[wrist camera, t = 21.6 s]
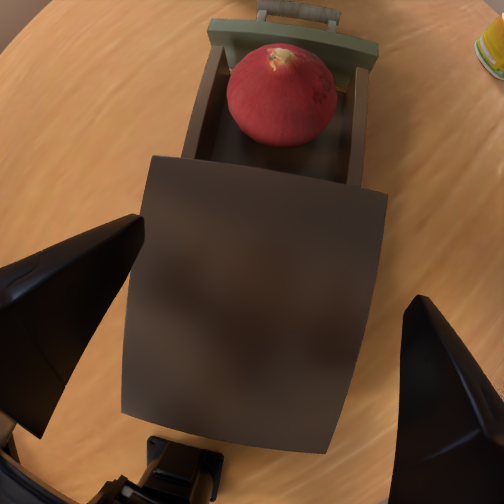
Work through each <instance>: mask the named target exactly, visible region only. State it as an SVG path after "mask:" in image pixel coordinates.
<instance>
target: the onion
mask: <svg viewBox="0 0 504 504" xmlns="http://www.w3.org/2000/svg"><path fill="white" fill-rule="evenodd" d="M227 100H228V107H229V111H230V113H231V115H232V117H233V118H234V120H235V121H236V123H237V124H238V126H239V128H240V129H241V131H242V132H244V133H245V134H246V135H248V136H249V137H251V138H252V139H253V140H255V141H256V142H257V143H260V144H264V145H267V146H270V147H274V148H277V149H279V148H291V147H299V146H301V145H303V144H305V143H307V142H310V141H312V140H314V139H315V138H316V137H317V136H318V135H319V134H320V133H321V132H322V131H323V130H324V129H325V128H326V127H327V126H328V125H329V124H330V123H331V120H332V117H333V114H334V111H335V107H336V104H337V93H336V88H335V83H334V79H333V76H332V73H331V72H330V71H329V70H328V68H327V67H326V66H325V65H324V63H323V62H322V61H321V60H320V58H319V57H318V56H317V55H316V54H314V53H312V52H309V51H307V50H304V49H302V48H300V47H297V46H295V45H290V44H283V43H277V44H269V45H264V46H262V47H260V48H258V49H256V50H254V51H252V52H250V53H249V54H248V55H246V56H245V57H244V58H243V59H242V60H241V61H240V62H239V63H238V64H237V65H236V66H235V67H234V69H233V71H232V74H231V77H230V80H229V83H228V86H227Z"/></svg>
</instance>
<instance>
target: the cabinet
mask: <svg viewBox="0 0 504 504" xmlns="http://www.w3.org/2000/svg"><path fill="white" fill-rule="evenodd" d="M387 200H388V194H385V193H381V192H377V191H373V190H369V189H364V188H360V187H356V186H351V185H347V184H342V183H337V182H333V181H328V180H323V179H318V178H313V177H308V176H302V175H297V174H292V173H286V172H280V171H274V170H268V169H262V168H256V167H249V166H243V165H236V164H229V163H221V162H213V161H205V160H197V159H188V158H179V157H169V156H158V155H153V156H152V159H151V164H150V168H149V172H148V177H147V181H146V186H145V190H144V195H143V200H142V205H141V210H140V216H143V218H144V221H145V241H144V244H143V246H142V248H141V250H140V252H139V254H138V256H137V258H136V260H135V262H134V264H133V266H132V268H131V272H130V280H129V288H128V297H127V306H126V317H125V328H124V342H123V359H122V387H121V412H122V413H124V414H127V415H129V416H132V417H135V418H138V419H141V420H144V421H147V422H151V423H154V424H157V425H160V426H164V427H167V428H171V429H174V430H178V431H182V432H185V433H189V434H193V435H197V436H202V437H206V438H211V439H215V440H220V441H225V442H230V443H235V444H241V445H247V446H253V447H260V448H267V449H274V450H283V451H292V452H303V453H317V454H326V452H327V449H328V447H329V444H330V442H331V439H332V436H333V433H334V431H335V428H336V425H337V422H338V419H339V417H340V414H341V411H342V408H343V405H344V402H345V398H346V395H347V392H348V389H349V386H350V382H351V379H352V376H353V372H354V369H355V365H356V362H357V358H358V354H359V351H360V347H361V343H362V339H363V335H364V331H365V327H366V323H367V318H368V314H369V309H370V305H371V300H372V295H373V290H374V285H375V280H376V275H377V269H378V264H379V258H380V252H381V245H382V239H383V232H384V225H385V217H386V209H387Z"/></svg>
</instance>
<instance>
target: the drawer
mask: <svg viewBox="0 0 504 504" xmlns="http://www.w3.org/2000/svg"><path fill="white" fill-rule="evenodd" d="M256 10H257V14H258V15H257V19H256V21H254V20H239V19H211V20H210V23H209V26H208V29H207V33H208V36H209V39H210V43H211V46H212V47H211V50H210V53H209V56H208V60H207V63H206V66H205V69H204V72H203V76H202V79H201V83H200V86H199V89H198V93H197V96H196V100H195V104H194V107H193V111H192V115H191V119H190V122H189V126H188V130H187V134H186V138H185V142H184V146H183V151H182V155H181V158H188V159H197V160H205V161H213V162H221V163H229V164H236V165H243V166H249V167H256V168H262V169H268V170H274V171H280V172H286V173H292V174H297V175H302V176H308V177H313V178H318V179H323V180H328V181H333V182H337V183H342V184H347V185H351V186H356V187H360V188H361V181H362V172H363V162H364V151H365V139H366V125H367V108H368V81H369V73H370V71H371V70H372V68H373V66H374V64H375V62H376V60H377V59H378V57H379V51H378V44H377V43H374V42H371V41H367V40H363V39H360V38H356V37H352V36H348V35H344V34H339V33H336V26H338V25H339V21H340V14H341V12H340V10H336V9H332V8H327V7H322V6H316V5H310V4H304V3H298V2H291V1H283V0H258V1H257V9H256ZM267 15H271V16H280V17H288V18H295V19H302V20H308V21H314V22H319V23H324V24H327V31H325V30H320V29H315V28H309V27H303V26H297V25H290V24H283V23H274V22H266V18H267ZM277 43H283V44H290V45H295V46H297V47H300V48H302V49H304V50H307V51H309V52H312V53H314V54H316V55H317V56H318V57H319V58H320V60H321V61H322V62H323V63H324V65H325V66H326V67H327V68H328V70H329V71H330V72H331V73H332V76H333V79H334V83H335V84H337V85H342V86H346V87H347V88H346V90H345V92H344V93H343V92H339V91H336V93H337V104H336V107H335V111H334V114H333V117H332V120H331V123H330V124H329V125H328V126H327V127H326V128H325V129H324V130H323V131H322V132H321V133H320V134H319V135H318V136H317V137H316V138H315V139H314V140H312V141H310V142H307V143H305V144H303V145H301V146H299V147H291V148H279V149H277V148H274V147H270V146H267V145H264V144H260V143H257V142H256V141H255V140H253V139H252V138H251V137H249V136H248V135H246V134H245V133H244V132H242V131H241V129H240V128H239V126H238V124H237V123H236V121H235V120H234V118H233V117H232V115H231V113H230V111H229V107H228V100H227V86H228V83H229V80H230V77H231V74H230V70H229V68H232V69H234V67H235V66H236V65H237V64H238V63H239V62H240V61H241V60H242V59H243V58H244V57H245V56H246V55H248V54H249V53H250V52H252V51H254V50H256V49H258V48H260V47H262V46H264V45H269V44H277Z"/></svg>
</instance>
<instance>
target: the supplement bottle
mask: <svg viewBox="0 0 504 504" xmlns="http://www.w3.org/2000/svg"><path fill="white" fill-rule="evenodd" d="M474 47H475V52H476V54H477V56H478V58H479V60H480V61H481V63H482V64H483V66H484V67H485V68H486V69H487V70H488V71H489V72H490V73H491V74H492V75H493V76H495V77H496V78H498V79H500V80H503V81H504V12H503V13H502V14H501V15H500V16H499V17H498V18H497V19H496V20H495V21H494V22H493V23H492V24H491V26H490V27H489V28H488V29H487V30H486V31H485V32H484V33H483V34H482V35H481V36H480V37H479V38H478V39H477V40H476V42H475V45H474Z"/></svg>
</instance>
